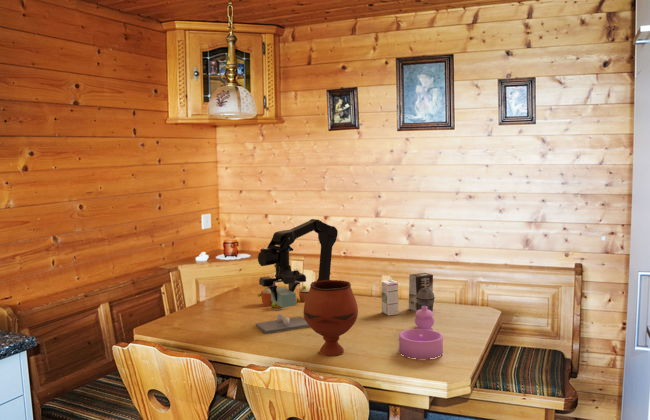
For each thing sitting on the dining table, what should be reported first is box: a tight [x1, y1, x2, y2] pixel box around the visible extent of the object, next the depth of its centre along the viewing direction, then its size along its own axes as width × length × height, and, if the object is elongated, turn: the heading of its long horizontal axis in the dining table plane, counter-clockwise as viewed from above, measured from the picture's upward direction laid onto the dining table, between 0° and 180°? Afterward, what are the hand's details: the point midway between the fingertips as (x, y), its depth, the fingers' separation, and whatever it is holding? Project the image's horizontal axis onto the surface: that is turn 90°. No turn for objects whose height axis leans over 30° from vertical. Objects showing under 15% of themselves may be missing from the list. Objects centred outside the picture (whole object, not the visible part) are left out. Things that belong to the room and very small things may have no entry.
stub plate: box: [255, 313, 311, 335], centre depth 237 cm, size 20×12×4 cm, turn 117°
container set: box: [398, 306, 444, 359], centre depth 208 cm, size 25×15×13 cm, turn 165°
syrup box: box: [381, 279, 399, 316], centre depth 254 cm, size 6×6×14 cm
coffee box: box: [408, 272, 434, 313], centre depth 260 cm, size 9×6×16 cm
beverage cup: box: [417, 278, 436, 313], centre depth 235 cm, size 7×7×20 cm
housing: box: [271, 286, 297, 308], centre depth 236 cm, size 6×12×5 cm, turn 27°
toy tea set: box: [257, 285, 310, 311], centre depth 274 cm, size 26×16×10 cm, turn 138°
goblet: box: [303, 279, 359, 357], centre depth 204 cm, size 19×19×25 cm
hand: (283, 300), depth 236 cm, fingers closed on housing, 6 cm apart
